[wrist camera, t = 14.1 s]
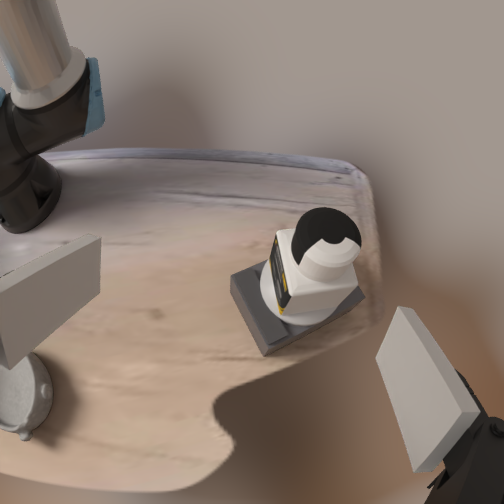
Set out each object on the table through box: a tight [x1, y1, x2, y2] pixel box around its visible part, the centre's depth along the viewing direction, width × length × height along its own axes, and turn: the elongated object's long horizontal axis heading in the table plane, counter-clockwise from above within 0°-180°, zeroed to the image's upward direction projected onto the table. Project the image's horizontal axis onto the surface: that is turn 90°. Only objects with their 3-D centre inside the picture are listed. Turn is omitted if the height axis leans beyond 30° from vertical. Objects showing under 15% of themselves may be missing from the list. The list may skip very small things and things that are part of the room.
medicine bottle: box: [269, 207, 361, 315], centre depth 32 cm, size 7×7×12 cm
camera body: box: [230, 259, 365, 357], centre depth 41 cm, size 10×14×8 cm
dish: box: [0, 352, 53, 441], centre depth 32 cm, size 14×14×5 cm
